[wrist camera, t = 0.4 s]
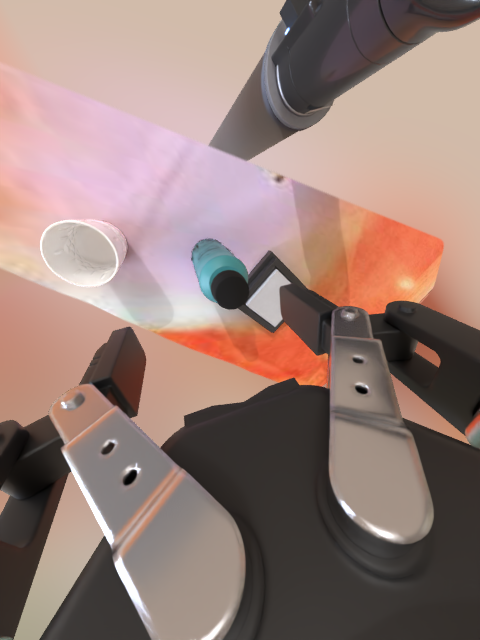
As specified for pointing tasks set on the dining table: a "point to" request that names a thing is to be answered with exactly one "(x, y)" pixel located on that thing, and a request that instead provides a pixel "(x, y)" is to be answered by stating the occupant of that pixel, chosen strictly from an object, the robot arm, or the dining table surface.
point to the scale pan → (268, 298)
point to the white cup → (84, 251)
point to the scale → (258, 278)
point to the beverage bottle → (220, 274)
